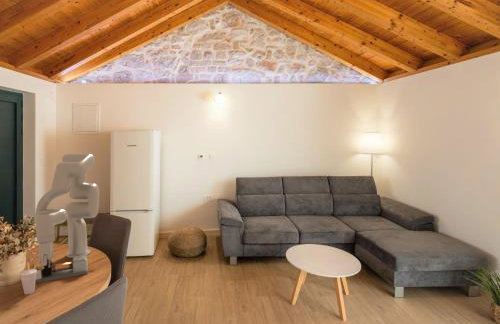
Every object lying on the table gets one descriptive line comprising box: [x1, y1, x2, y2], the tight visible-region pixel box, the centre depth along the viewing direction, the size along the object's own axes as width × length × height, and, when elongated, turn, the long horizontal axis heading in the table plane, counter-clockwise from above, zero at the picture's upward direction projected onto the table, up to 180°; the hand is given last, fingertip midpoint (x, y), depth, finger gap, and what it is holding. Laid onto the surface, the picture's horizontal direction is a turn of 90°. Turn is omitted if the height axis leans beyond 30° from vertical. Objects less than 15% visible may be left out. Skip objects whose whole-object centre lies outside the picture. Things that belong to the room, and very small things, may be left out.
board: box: [35, 265, 89, 284], centre depth 154 cm, size 8×24×1 cm, turn 116°
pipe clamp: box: [25, 262, 43, 270], centre depth 156 cm, size 12×4×6 cm, turn 169°
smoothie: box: [18, 262, 37, 295], centre depth 137 cm, size 6×6×14 cm
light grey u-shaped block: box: [33, 264, 43, 280], centre depth 150 cm, size 6×3×5 cm, turn 26°
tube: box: [38, 261, 73, 274], centre depth 153 cm, size 4×16×4 cm, turn 116°
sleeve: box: [72, 255, 88, 273], centre depth 157 cm, size 6×6×6 cm
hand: (48, 273), depth 151 cm, fingers closed on tube, 3 cm apart
